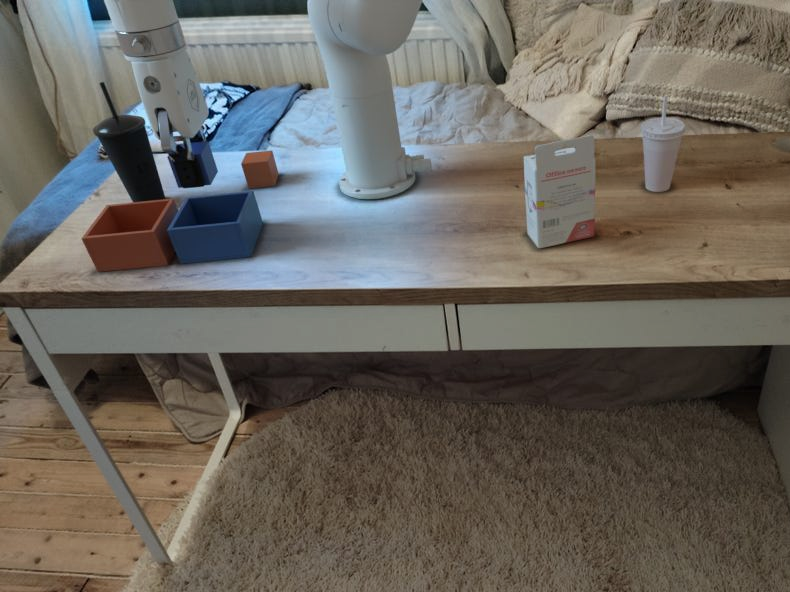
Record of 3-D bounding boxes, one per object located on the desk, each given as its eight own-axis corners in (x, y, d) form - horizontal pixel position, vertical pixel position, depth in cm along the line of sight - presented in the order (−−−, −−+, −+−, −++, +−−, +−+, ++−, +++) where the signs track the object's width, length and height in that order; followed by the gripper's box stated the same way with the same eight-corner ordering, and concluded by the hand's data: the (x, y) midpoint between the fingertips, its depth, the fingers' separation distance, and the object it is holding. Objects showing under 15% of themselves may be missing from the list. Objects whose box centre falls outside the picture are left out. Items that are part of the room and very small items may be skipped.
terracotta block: (279, 174, 123) (272, 150, 120) (274, 186, 120) (267, 161, 117) (253, 177, 123) (246, 152, 120) (248, 188, 120) (240, 163, 117)
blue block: (218, 171, 101) (208, 141, 98) (210, 185, 97) (200, 153, 94) (186, 174, 101) (176, 143, 98) (178, 188, 97) (167, 156, 94)
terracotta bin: (186, 230, 110) (174, 198, 106) (167, 265, 102) (153, 231, 98) (121, 237, 110) (106, 204, 106) (97, 272, 102) (81, 238, 98)
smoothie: (634, 195, 107) (641, 103, 99) (637, 176, 112) (644, 87, 103) (678, 196, 106) (688, 103, 97) (679, 178, 111) (689, 87, 102)
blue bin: (263, 223, 110) (253, 190, 106) (250, 257, 102) (239, 223, 98) (197, 229, 110) (185, 197, 106) (180, 263, 102) (166, 230, 98)
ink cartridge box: (581, 221, 102) (583, 121, 93) (595, 237, 99) (598, 135, 89) (525, 233, 101) (521, 133, 92) (537, 250, 97) (534, 147, 88)
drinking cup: (117, 211, 117) (63, 89, 104) (153, 191, 122) (105, 72, 109) (149, 219, 114) (97, 93, 101) (184, 198, 119) (139, 76, 106)
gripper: (162, 57, 81) (211, 203, 92) (199, 20, 94) (238, 152, 105) (97, 63, 81) (154, 208, 92) (143, 25, 94) (188, 156, 105)
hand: (198, 177), depth 99 cm, fingers closed on blue block, 4 cm apart
